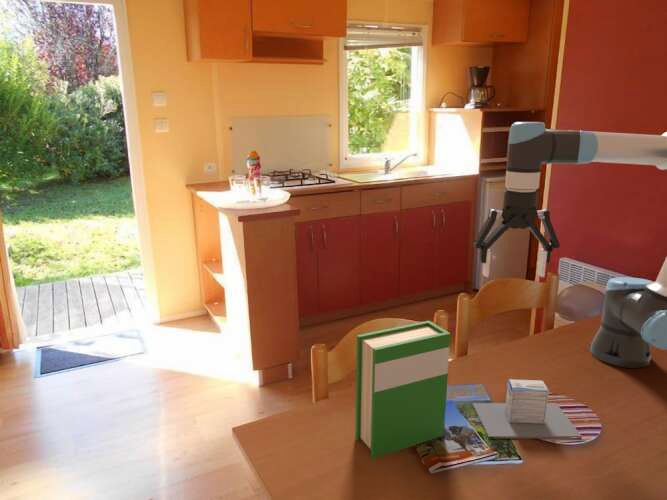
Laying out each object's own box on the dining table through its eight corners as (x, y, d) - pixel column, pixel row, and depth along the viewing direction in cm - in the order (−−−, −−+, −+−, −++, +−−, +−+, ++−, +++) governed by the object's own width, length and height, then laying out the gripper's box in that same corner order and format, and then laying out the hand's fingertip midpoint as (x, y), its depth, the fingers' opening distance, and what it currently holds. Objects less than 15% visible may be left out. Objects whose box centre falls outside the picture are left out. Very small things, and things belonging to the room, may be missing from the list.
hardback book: (372, 458, 105) (375, 350, 99) (355, 438, 111) (356, 335, 105) (443, 436, 112) (450, 333, 106) (423, 418, 119) (428, 320, 112)
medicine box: (539, 413, 119) (543, 380, 117) (545, 425, 115) (549, 390, 113) (504, 412, 120) (507, 378, 118) (508, 423, 116) (512, 388, 114)
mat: (556, 404, 124) (556, 403, 124) (581, 438, 112) (581, 436, 111) (472, 405, 124) (472, 403, 124) (488, 438, 111) (488, 436, 111)
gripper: (567, 187, 126) (557, 270, 131) (464, 187, 126) (458, 270, 131) (581, 191, 119) (570, 280, 124) (472, 191, 118) (466, 280, 124)
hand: (513, 275), depth 128 cm, fingers open, 13 cm apart
